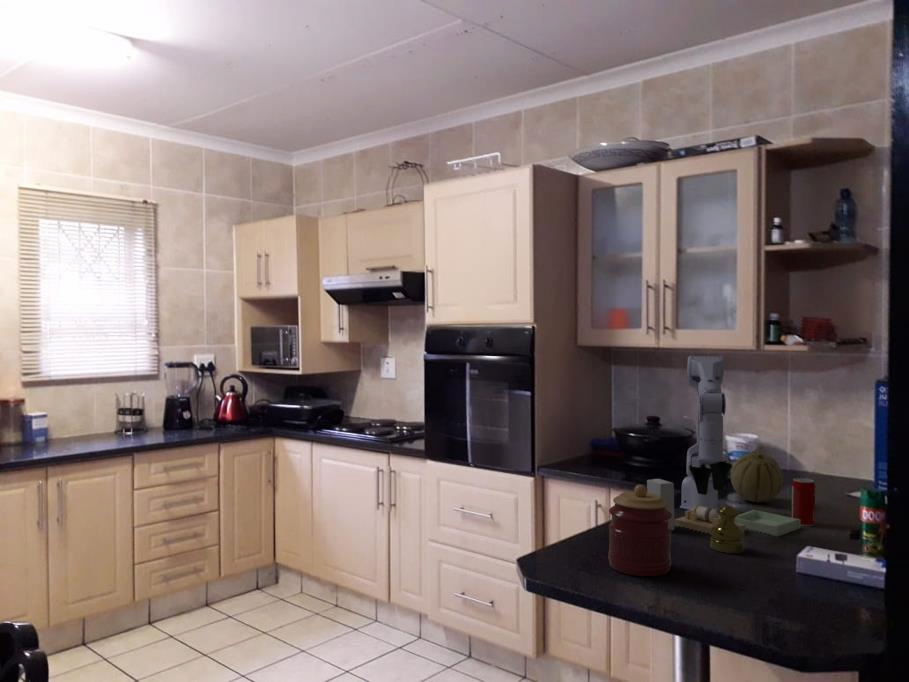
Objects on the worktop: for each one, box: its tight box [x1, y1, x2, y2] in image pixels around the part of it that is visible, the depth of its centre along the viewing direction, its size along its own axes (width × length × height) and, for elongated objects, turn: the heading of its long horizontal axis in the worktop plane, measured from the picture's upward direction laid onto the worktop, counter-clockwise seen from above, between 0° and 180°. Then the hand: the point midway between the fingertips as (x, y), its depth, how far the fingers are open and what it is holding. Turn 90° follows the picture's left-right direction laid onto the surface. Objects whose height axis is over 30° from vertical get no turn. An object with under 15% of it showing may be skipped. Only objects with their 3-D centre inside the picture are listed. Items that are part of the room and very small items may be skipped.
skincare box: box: [646, 478, 675, 531], centre depth 178 cm, size 6×4×12 cm
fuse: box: [692, 505, 721, 522], centre depth 179 cm, size 8×4×4 cm, turn 39°
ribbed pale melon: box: [730, 452, 784, 503], centre depth 208 cm, size 15×15×15 cm
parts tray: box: [735, 509, 801, 537], centre depth 181 cm, size 13×13×2 cm
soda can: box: [791, 477, 816, 527], centre depth 184 cm, size 6×6×12 cm
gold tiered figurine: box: [709, 505, 745, 554], centre depth 161 cm, size 7×7×10 cm
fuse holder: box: [674, 509, 746, 535], centre depth 179 cm, size 14×10×4 cm
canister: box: [607, 484, 673, 577], centre depth 148 cm, size 13×13×18 cm
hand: (710, 492), depth 179 cm, fingers open, 7 cm apart
